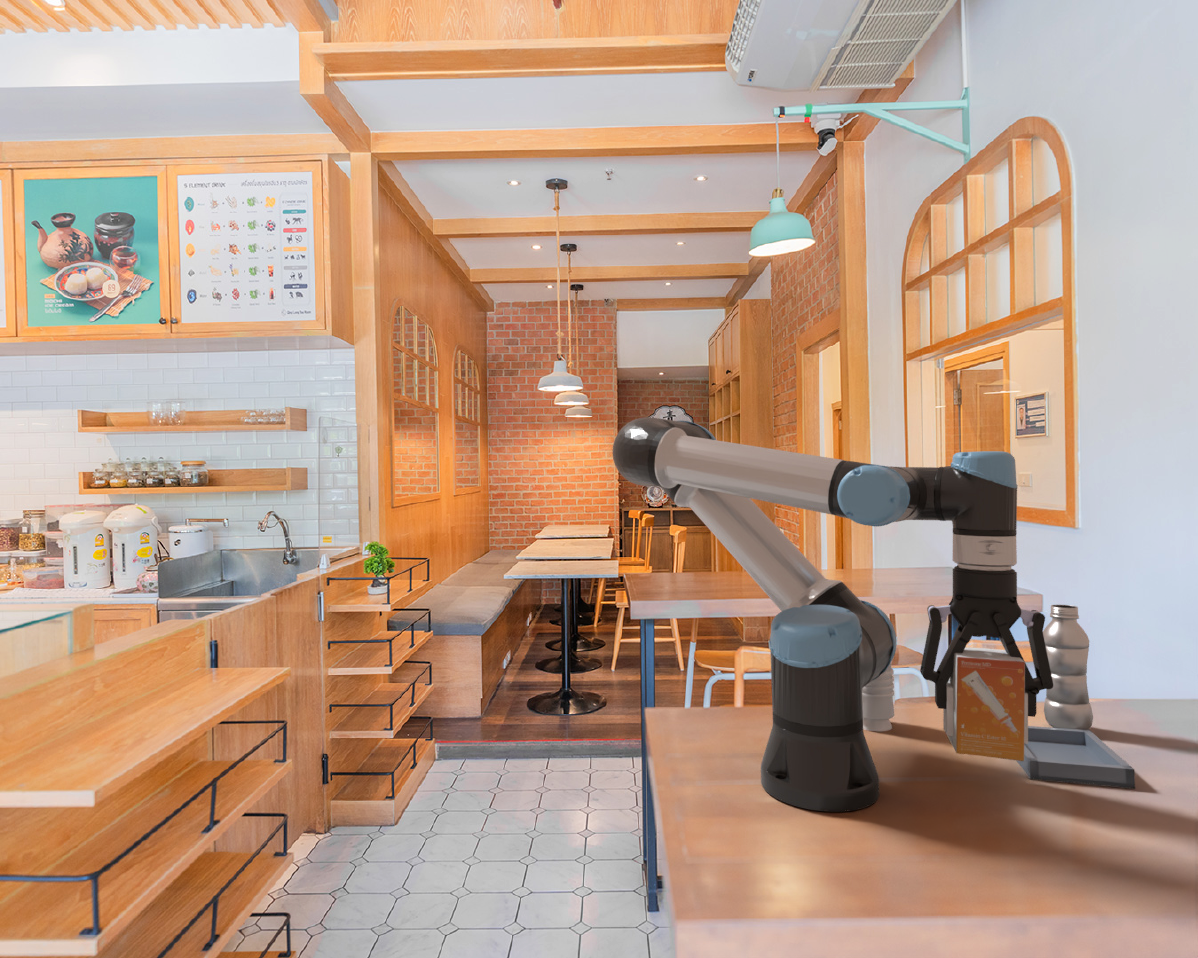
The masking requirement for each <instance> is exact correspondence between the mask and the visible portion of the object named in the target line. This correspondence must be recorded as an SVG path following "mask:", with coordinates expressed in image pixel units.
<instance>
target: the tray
mask: <svg viewBox="0 0 1198 958" xmlns="http://www.w3.org/2000/svg"><path fill="white" fill-rule="evenodd" d="M1015 761H1016V762H1017V764H1018V765H1019V766H1020V767H1021V770H1023V771H1024V773H1025V774H1026V775H1027V777H1028V778H1029V779H1030V780H1033V781H1034V780H1036V781H1045V782H1058V783H1068V784H1080V785H1091V786H1102V787H1111V788H1112V787H1113V788H1123V789H1124V788H1125V789H1136V781H1135V780H1136V777H1135V775H1136V774H1135V768H1133V766H1131V765H1130V764H1129V763H1128V762H1126V760H1124V759H1123V758H1122V757H1121V756H1120V755H1119V754H1117V752H1115V751H1114V750H1113V749H1111V747H1109V746H1108V745H1107V744H1106V743H1105V742H1103V741H1102V740H1101V739H1100V738H1099V737H1098V736H1097V735H1096V734H1095V733H1093V732H1092V731H1091V730H1090V729H1089V730H1078V729H1064V728H1054V727H1051V726H1050V727H1047V726H1035V725H1028V744H1026V743H1024V761H1017V760H1015Z"/></svg>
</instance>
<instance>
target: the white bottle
mask: <svg viewBox="0 0 1198 958" xmlns="http://www.w3.org/2000/svg"><path fill="white" fill-rule="evenodd" d="M894 671H895V670H894V669H893V668H892V662H891V663H890V665H889V666H888V668H887V670H886V671H885V672H884V673H883V674H881V675H880V676H879V677H878V678H877V679H875V680H873V681H871V682H870V683H868V684H867V685H866V686H865V687H863V688H862V703H863V731H864V730H865V731H869V732H887V731H890V730H892V729H893V725H892V724H891V721H890V719H893V718H894V717H895V706H894V698H893V697H894V696H895V690H894V688H895V683H894V682H895V679H894Z"/></svg>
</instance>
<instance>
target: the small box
mask: <svg viewBox="0 0 1198 958" xmlns="http://www.w3.org/2000/svg"><path fill="white" fill-rule="evenodd" d="M948 647H949V645H948V646H947V648H948ZM1024 661H1025V660H1024ZM1024 661H1023V660H1022V659H1021V658H1019V657H1011V656H1010V655H1009V654H1008V653H1007V652H1006V651H1005V649H999V648H998V649H997V648H996V649H995V648H986V647H985V648H984V647H965V649H964V651H963V653H955V654H954V671H953V673H952V675H951V677H950V679H949V681H948V682H950V684H951V685H952V687H953V736H947V738H948V740H949V742H950V744H951V745H952V748H953V749H954V751H955V754H957V755H969V756H978V757H979V756H980V757H986V758H995V759H1002V760H1008V761H1009V760H1010V761H1016V760H1017V761H1024V736H1025V663H1026V661H1025V662H1024ZM1017 761H1016V762H1017Z"/></svg>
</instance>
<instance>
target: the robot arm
mask: <svg viewBox="0 0 1198 958" xmlns="http://www.w3.org/2000/svg"><path fill="white" fill-rule="evenodd" d="M612 460H613V463H614V466H615V468H616V470H617V472H618V473H619V474H620V475H621V476H622V477H623V478H624V479H625V480H626V481H628V482H629V483H632V484H634V485H638V486H642V487H659V488H661V489H662V490H663V492H664V493H665V494H666V495H667V496H668V497H669V499H671V501H672V502H673V503H674V504H675V505H676V506H677V507H680V508H690V509H691V510H692V511H693V513H694V514H695V515H696V516H697V517H698V518H699V519H700V521H701V522H702V523H703V524H704V525H705V526H706V527H707V528H708V529H709V531H710V532H711V533H712V534H713V535H714V536H715V538H716V539H717V540H718V542H720V544H722V546H723V547H724V548H725V550H727V551H728V552H729V554H730V555H731V556H732V557H733V558H734V559H735V560H736V561H737V563H738V564H739V565H740V566H741V567H742V568H743V570H744V571H746V573H747V574H748V575H749V577H750V578H752V580H753V581H754V582H755V583H756V584H757V585H758V586H759V588H760V589H761V590H762V591H763V592H764V593H765V594H766V596H768V598H769V599H770V600H771V601H772V602H773V604H775V606H776V607H777V608H778V609H779V611H780V612H778V613H777V614H776V615H775V616H774V617H773V619H772V621H771V624H770V635H769V641H768V644H769V645H768V646H769V650H770V673H771V674H770V676H771V680H770V681H771V705H772V707H771V708H772V727H771V730H770V734H769V736H768V740H767V743H766V747H765V750H764V753H763V755H762V759H761V763H760V783H761V786H762V788H763V789H764V791H765V792H767V794H769V795H770V796H772V797H773V798H775V799H776V800H778V801H781V802H784V803H786V804H788V805H791V806H794V807H798V808H802V809H805V810H811V811H817V812H818V811H819V812H829V813H831V812H832V813H836V812H839V813H840V812H851V811H852V812H853V811H857V810H861V809H864V808H868V807H871V805H873V804H874V803H876V802H877V801H878V799H879V797H880V778H879V772H878V770H877V767H876V764H875V762H874V758H873V756H872V754H871V750H870V748H869V745H868V742H867V738H866V737H865V734H864V733H865V732H864V729H863V703H862V688H863V687H865V686H866V685H867V684H868V683H870V682H871V681H873V680H875V679H877V678H878V677H879V676H880V675H881V674H883V673H884V672H885V671H886V670H887V668H888V666H889V665H890V663H891V664H892V661H893V660H894V657H895V655H896V651H897V645H898V644H897V643H898V642H897V641H898V640H897V634H896V631H895V627H894V625H893V623H892V621H891V619H890V618H889V616H888V615H887V613H885V612H884V611H883V610H882V609H881V608H880V607H878V606H877V605H875V604H873V603H871V602H868V601H866V600H862V599H859V598H858V596H856V594H855V593H853V591H852V590H851V588H849V587H848V586H847V585H846V584H845V583H844V582H843V581H842V580H838V579H837V580H836V579H827V578H826V577H825V576H824V575H823V574H822V573H821V572H820V571H819V569H817V568H816V567H815V566H814V565H813V563H812V562H811V561H810V560H809V559H808V558H807V557H806V556H805V555H804V554H803V553H802V552H801V551H800V550H799V549H798V548H797V547H796V545H795V544H794V543H793V542H792V541H791V540H790V539H789V538H788V537H787V536H786V535H785V534H784V532H783V531H781V530H780V528H779V527H778V526H777V525H776V524H775V523H774V522H773V521H772V520H771V519H770V518H769V517H768V515H767V514H765V513H764V511H763V510H762V509H761V508H760V507H759V506H758V505H757V504H756V503H755V502H754V501H753V500H758V501H763V502H767V503H772V504H777V505H783V506H785V507H786V506H787V507H791V508H797V509H801V510H802V509H803V510H806V511H812V512H818V513H821V514H827V515H831V516H837V517H839V518H845V519H849V520H851V521H853V522H854V523H856V524H859V525H863V526H868V527H870V526H871V527H883V526H887V525H889V524H891V523H895V522H896V523H898V522H902V521H903V522H905V521H941V522H947V521H950V522H951V523H952V562H953V563H955V564H957V565H955V566H954V568H952V598H951V600H950V602H949V604H948V605H947V604H946V605H942V606H941V605H940V606H935V605H932V604H930V605H928V606H927V609H926V610H927V615H928V620H929V623H928V629H927V635H926V638H925V639H926V640H925V643H924V648H923V654H922V660H921V663H920V664H921V665H920V674H921V676H922V677H923V679H924V680H926V681H930V682H932V683H934V703H935V705H936V707H937V709H940V710H941V709H942V710H943V713H942V715H943V716H942V718H943V719H942V720H943V721H942V722H943V725H942V726H943V731H944V732H945V735H946V736H947V737H948V736H953V687H952V685H951V684H950V682H948V681H949V679H950V677H951V675H952V673H953V671H954V654H955V653H963V651H964V649H965V647H966V646H967V645H968V644H969V643H970V642H971V639H972V637H974V638H975V637H977V638H980V637H981V638H982V637H989V638H995V639H999V641H1000V642H1001V644H1002V646H1003V648H1004V649H1003V650H1005V651H1006V652H1007V653H1008V654H1009V655H1010V656H1011V657H1019V658H1021V659H1022V660H1023V661H1024V662H1025V736H1024V743H1026V744H1028V726H1029V717H1032V718H1033V717H1034V718H1036V715H1037V695H1038V694H1039V693H1040V691H1042V690H1045V689H1052V688H1053V680H1052V675H1051V670H1050V665H1049V660H1048V656H1047V651H1046V646H1045V641H1044V636H1043V631H1044V628H1045V627H1044V626H1045V621H1046V616H1045V615H1044V613H1041V612H1039V611H1038V610H1036V609H1032V610H1028V609H1023V608H1021V607H1020V605H1019V603H1018V572H1017V571H1016V569H1013V568H1012V567H1014V566H1016V565H1017V563H1018V561H1017V558H1018V557H1017V556H1018V555H1017V552H1018V551H1017V527H1018V526H1017V525H1018V524H1017V523H1018V522H1017V521H1018V519H1017V517H1018V515H1017V513H1018V484H1017V483H1018V482H1017V471H1016V470H1017V468H1016V459H1015V457H1014V456H1013V454H1011V453H1009V452H1007V451H997V450H995V451H994V450H992V451H991V450H990V451H989V450H987V451H982V450H981V451H959V452H955V453H954V454H952V459H951V460H952V462H950V466H949V465H946V466H940V467H939V466H938V467H931V466H930V467H925V466H924V467H923V466H922V467H921V466H914V467H913V466H912V467H911V466H888V465H886V466H885V465H880V464H873V463H872V464H871V463H866V462H859V461H852V460H843V459H839V458H833V457H827V456H826V457H825V456H821V455H815V454H809V453H808V454H807V453H800V452H795V451H794V452H793V451H789V450H788V451H787V450H782V449H774V448H768V447H762V446H755V445H749V444H742V443H735V442H729V441H723V440H718V439H716V437H715V436H714V435H713V433H712V432H711V431H710V430H708V429H707V428H706V427H705V426H702V425H700V424H697V423H695V422H691V421H688V420H671V419H666V418H665V419H664V418H658V417H652V416H651V417H650V416H649V417H648V416H646V417H645V416H643V417H639V418H635V419H633V420H630V421H629V422H627V423H626V424H625V425H624V426H622V428H621V429H620V430H619V431H618V432H617V434H616V436H615V438H614V440H613V444H612ZM752 499H753V500H752ZM949 615H951V616H952V617H953V618H954V619H955V620H956V622H957V623H958V626H957V628H956V629H955V631H954V636H953V637H952V639H951V641H950V644H948V646H949V647H948V646H947V649H946V651H945V654H944V655H943V657H942V659H941V662H940V663H939V665H938V668H937V669H936V671H935V666H936V661H937V656H938V652H939V647H940V641H941V636H942V630H943V623H945V622H946V621H947V619H948V616H949ZM1020 618H1021V621H1022V624H1023V625H1024V626H1026V632H1027V637H1028V642H1029V647H1030V652H1031V658H1032V662H1033V667H1034V672H1035V677H1033V676H1032V673H1031V672H1030V670H1029V667H1028V664H1026V661H1025V659H1024V658H1023V655H1022V653H1021V652H1020V649H1019V647H1018V645H1017V643H1016V640H1015V638H1014V635H1013V633H1012V632H1011V628H1012V627H1013V626H1014V624H1015V623H1016V622H1017V621H1018V620H1019V619H1020Z"/></svg>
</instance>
